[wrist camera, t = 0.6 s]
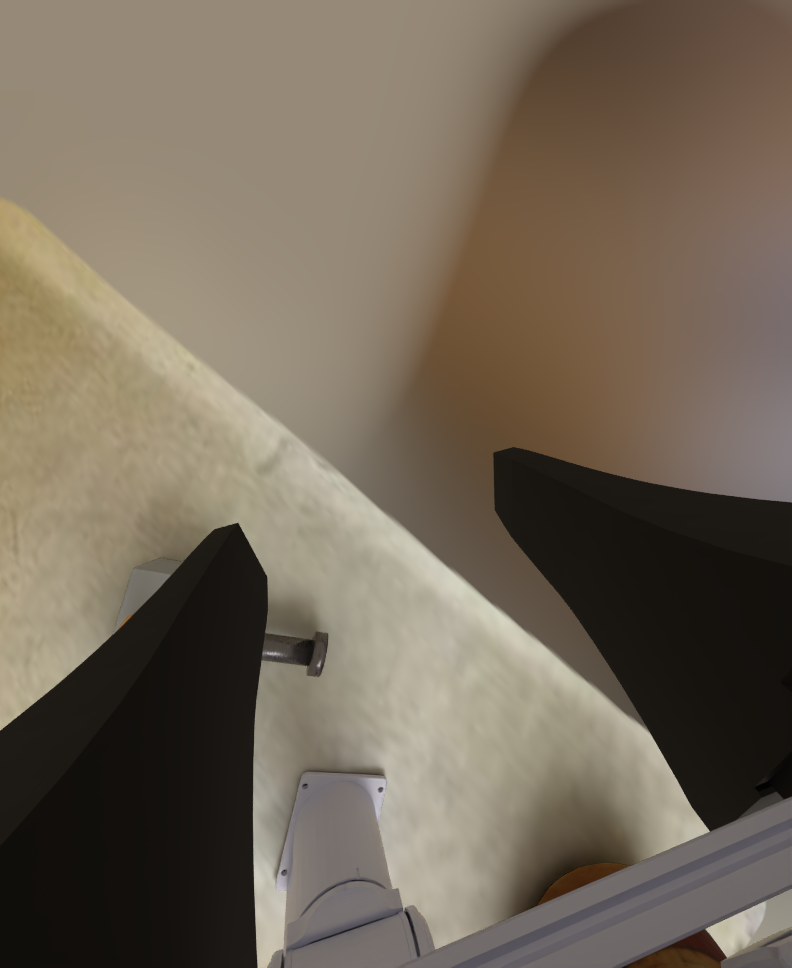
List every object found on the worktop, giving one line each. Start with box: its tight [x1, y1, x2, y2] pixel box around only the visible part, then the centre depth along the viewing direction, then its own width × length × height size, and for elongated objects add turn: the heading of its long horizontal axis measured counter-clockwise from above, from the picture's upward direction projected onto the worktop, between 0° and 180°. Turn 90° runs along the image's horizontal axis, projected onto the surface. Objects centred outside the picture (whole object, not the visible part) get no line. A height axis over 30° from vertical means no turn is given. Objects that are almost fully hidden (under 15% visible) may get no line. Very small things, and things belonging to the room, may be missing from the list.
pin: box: [262, 631, 328, 677], centre depth 28 cm, size 11×3×3 cm, turn 76°
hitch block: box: [113, 558, 183, 634], centre depth 27 cm, size 10×6×5 cm, turn 166°
